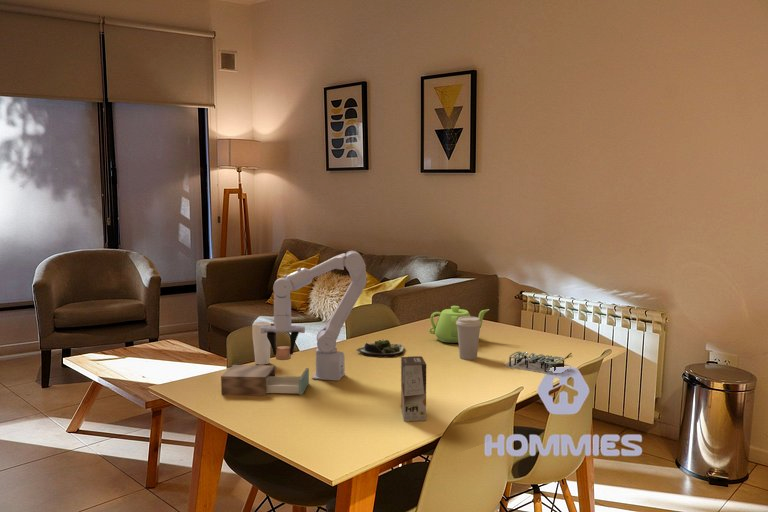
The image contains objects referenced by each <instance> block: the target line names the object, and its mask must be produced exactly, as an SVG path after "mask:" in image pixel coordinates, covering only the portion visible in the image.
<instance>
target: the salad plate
mask: <svg viewBox="0 0 768 512" xmlns="http://www.w3.org/2000/svg"><path fill="white" fill-rule="evenodd" d="M404 349H405V346H404V345H403V344H401V343H391V342H390V340H388V339H386V340H385V339H382V340H381V339H379V340H376V341H374V342H373V343H372V342H371V343H367V342H366V343H365V344H364V345H363V346H362V347H359V348H357V349H356V352H359V353H361V354H362V355H364V356H366V357H378V358H393V357H398V356H401V354H403V352H404Z"/></svg>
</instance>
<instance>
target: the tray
mask: <svg viewBox="0 0 768 512" xmlns="http://www.w3.org/2000/svg"><path fill="white" fill-rule="evenodd" d="M309 371H310V368H309V367H306V368H305V369H304V371H303V372H302V374H301V375H300V376H288V375H285V376H282V375H281V376H280V375H275V376H268V377H267V378H266V390H267V394H298V395H299V396H302V395H303V394H304V391H305V390H306V388H307V387H308V385H309V383H310V372H309Z"/></svg>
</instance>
